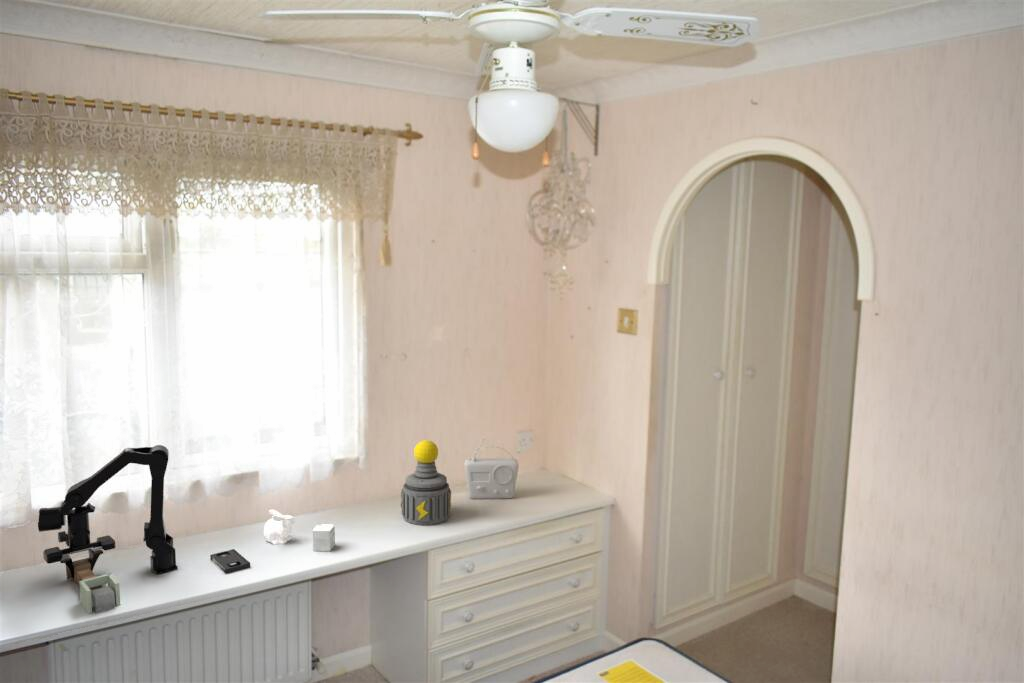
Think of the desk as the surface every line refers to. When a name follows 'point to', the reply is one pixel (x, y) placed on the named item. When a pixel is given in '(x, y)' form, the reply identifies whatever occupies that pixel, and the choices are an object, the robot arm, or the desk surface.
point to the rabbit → (278, 528)
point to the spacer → (102, 599)
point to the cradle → (96, 581)
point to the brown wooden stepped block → (81, 572)
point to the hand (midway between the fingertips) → (81, 575)
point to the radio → (491, 477)
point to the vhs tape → (230, 561)
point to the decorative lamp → (426, 489)
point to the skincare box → (323, 537)
